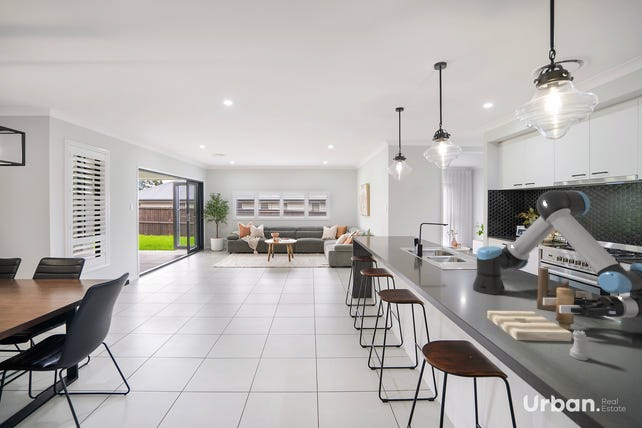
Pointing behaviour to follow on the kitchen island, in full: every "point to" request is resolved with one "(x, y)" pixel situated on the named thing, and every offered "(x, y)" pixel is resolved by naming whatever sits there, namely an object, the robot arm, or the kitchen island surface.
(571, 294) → the oak leg
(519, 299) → the kitchen island surface
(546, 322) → the birch board
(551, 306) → the wooden post with wedge
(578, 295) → the architectural model
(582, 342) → the rook chess piece
